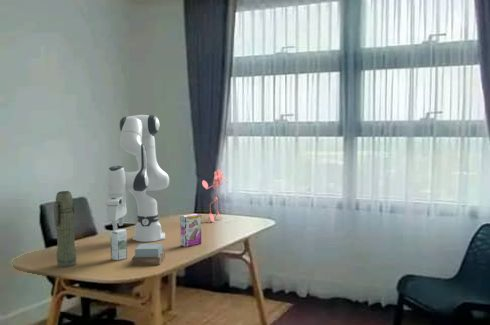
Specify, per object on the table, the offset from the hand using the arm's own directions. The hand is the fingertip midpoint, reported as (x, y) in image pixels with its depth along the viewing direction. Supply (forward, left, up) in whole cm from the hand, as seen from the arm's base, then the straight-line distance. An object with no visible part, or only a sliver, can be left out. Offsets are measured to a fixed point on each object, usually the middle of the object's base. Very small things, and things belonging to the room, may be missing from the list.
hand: (118, 227), depth 270 cm
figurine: (-99, +39, -16) cm, 107 cm away
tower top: (+5, +16, -12) cm, 21 cm away
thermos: (+11, -22, -16) cm, 29 cm away
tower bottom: (+5, +16, -16) cm, 23 cm away
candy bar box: (-30, +31, -16) cm, 46 cm away
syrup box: (0, 0, -16) cm, 16 cm away
